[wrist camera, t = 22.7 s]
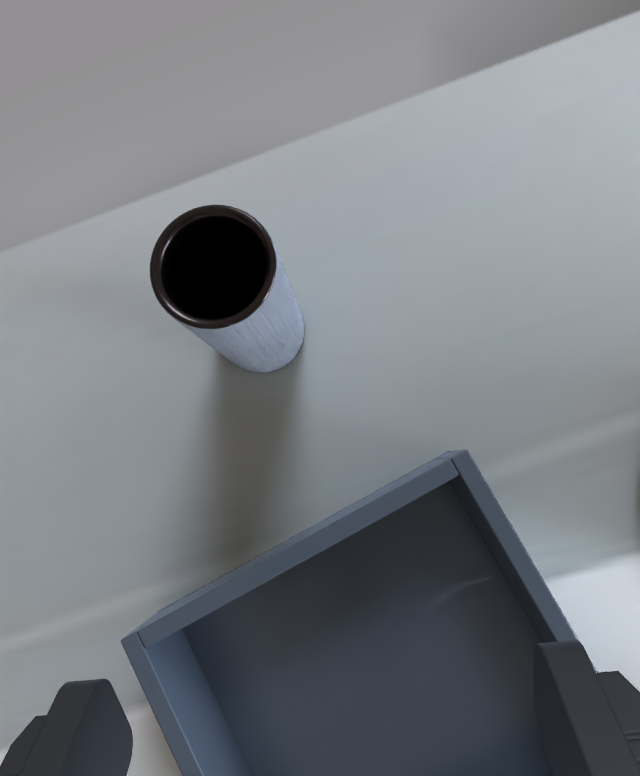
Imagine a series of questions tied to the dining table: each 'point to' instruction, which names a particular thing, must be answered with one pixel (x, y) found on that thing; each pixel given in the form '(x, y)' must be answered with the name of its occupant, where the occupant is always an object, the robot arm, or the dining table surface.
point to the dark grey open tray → (363, 644)
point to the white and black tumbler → (228, 287)
